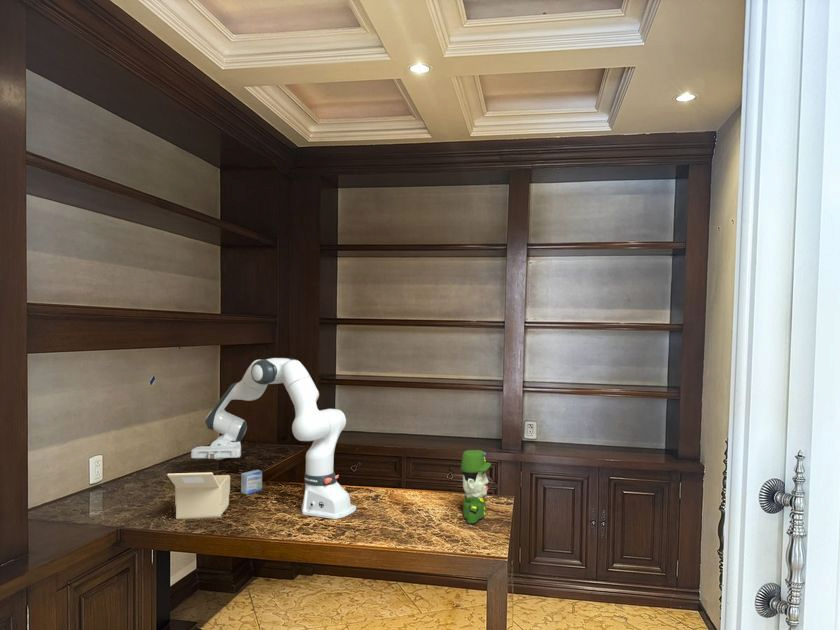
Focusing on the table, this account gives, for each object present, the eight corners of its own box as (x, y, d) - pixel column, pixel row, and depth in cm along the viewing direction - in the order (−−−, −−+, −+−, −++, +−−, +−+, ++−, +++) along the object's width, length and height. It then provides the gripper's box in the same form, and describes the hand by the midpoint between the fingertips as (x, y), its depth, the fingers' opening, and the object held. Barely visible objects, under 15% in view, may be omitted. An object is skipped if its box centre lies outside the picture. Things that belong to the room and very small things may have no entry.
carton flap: (167, 473, 188) (167, 475, 188) (212, 472, 190) (211, 474, 190) (177, 486, 199) (176, 488, 198) (219, 485, 200) (219, 487, 200)
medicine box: (246, 494, 227) (247, 474, 227) (240, 492, 229) (240, 473, 229) (262, 490, 233) (262, 470, 233) (256, 488, 236) (256, 469, 236)
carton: (187, 505, 213) (187, 476, 213) (230, 504, 215) (230, 474, 215) (174, 519, 198) (175, 487, 198) (221, 517, 200) (221, 485, 200)
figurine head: (488, 526, 193) (488, 458, 193) (456, 523, 195) (456, 456, 196) (492, 506, 214) (493, 445, 214) (464, 504, 217) (464, 443, 217)
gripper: (196, 442, 231) (186, 449, 217) (244, 441, 234) (237, 449, 220) (195, 456, 231) (185, 465, 217) (243, 455, 234) (236, 464, 220)
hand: (212, 457), depth 219 cm, fingers closed
